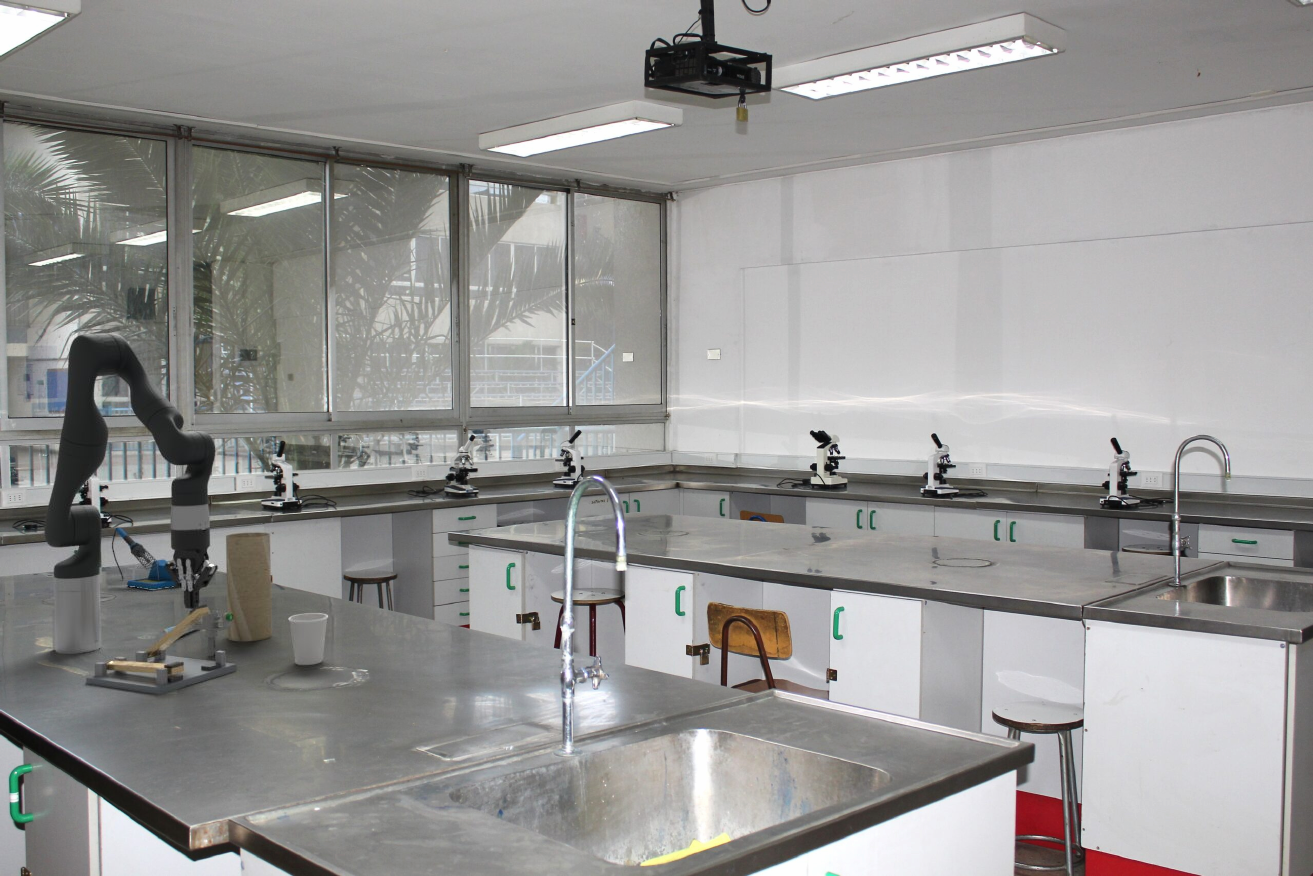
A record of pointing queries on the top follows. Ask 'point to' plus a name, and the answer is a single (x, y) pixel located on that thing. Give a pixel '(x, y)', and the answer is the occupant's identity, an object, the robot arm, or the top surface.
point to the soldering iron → (158, 571)
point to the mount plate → (161, 673)
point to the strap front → (145, 666)
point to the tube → (249, 586)
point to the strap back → (178, 630)
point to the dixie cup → (308, 637)
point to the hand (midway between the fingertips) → (191, 607)
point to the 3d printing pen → (169, 631)
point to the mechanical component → (213, 627)
